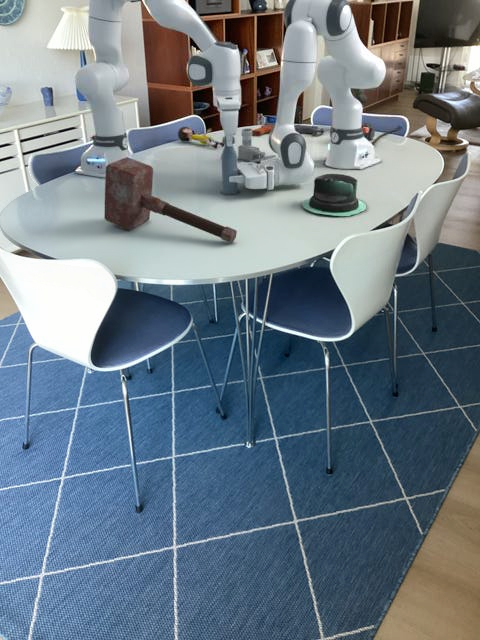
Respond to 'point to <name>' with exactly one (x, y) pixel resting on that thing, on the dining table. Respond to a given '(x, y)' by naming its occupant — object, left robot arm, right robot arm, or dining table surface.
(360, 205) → the round two-tone rimmed part
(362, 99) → the statue
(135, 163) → the sledgehammer
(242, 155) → the camera
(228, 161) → the bottle
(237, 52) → the left robot arm
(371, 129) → the toy
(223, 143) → the cap
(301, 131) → the submachine gun
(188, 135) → the figurine
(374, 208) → the dining table surface
